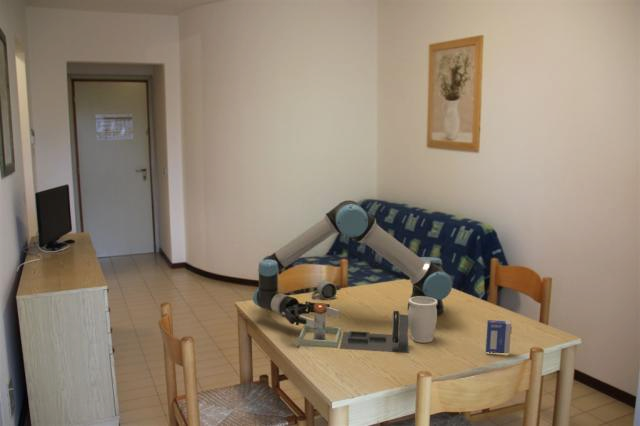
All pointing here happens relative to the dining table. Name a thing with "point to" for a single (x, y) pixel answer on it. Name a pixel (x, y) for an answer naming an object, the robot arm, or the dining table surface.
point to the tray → (319, 342)
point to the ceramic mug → (325, 290)
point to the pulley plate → (380, 338)
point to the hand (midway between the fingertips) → (326, 319)
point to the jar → (422, 318)
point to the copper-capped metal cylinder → (320, 320)
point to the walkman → (498, 336)
